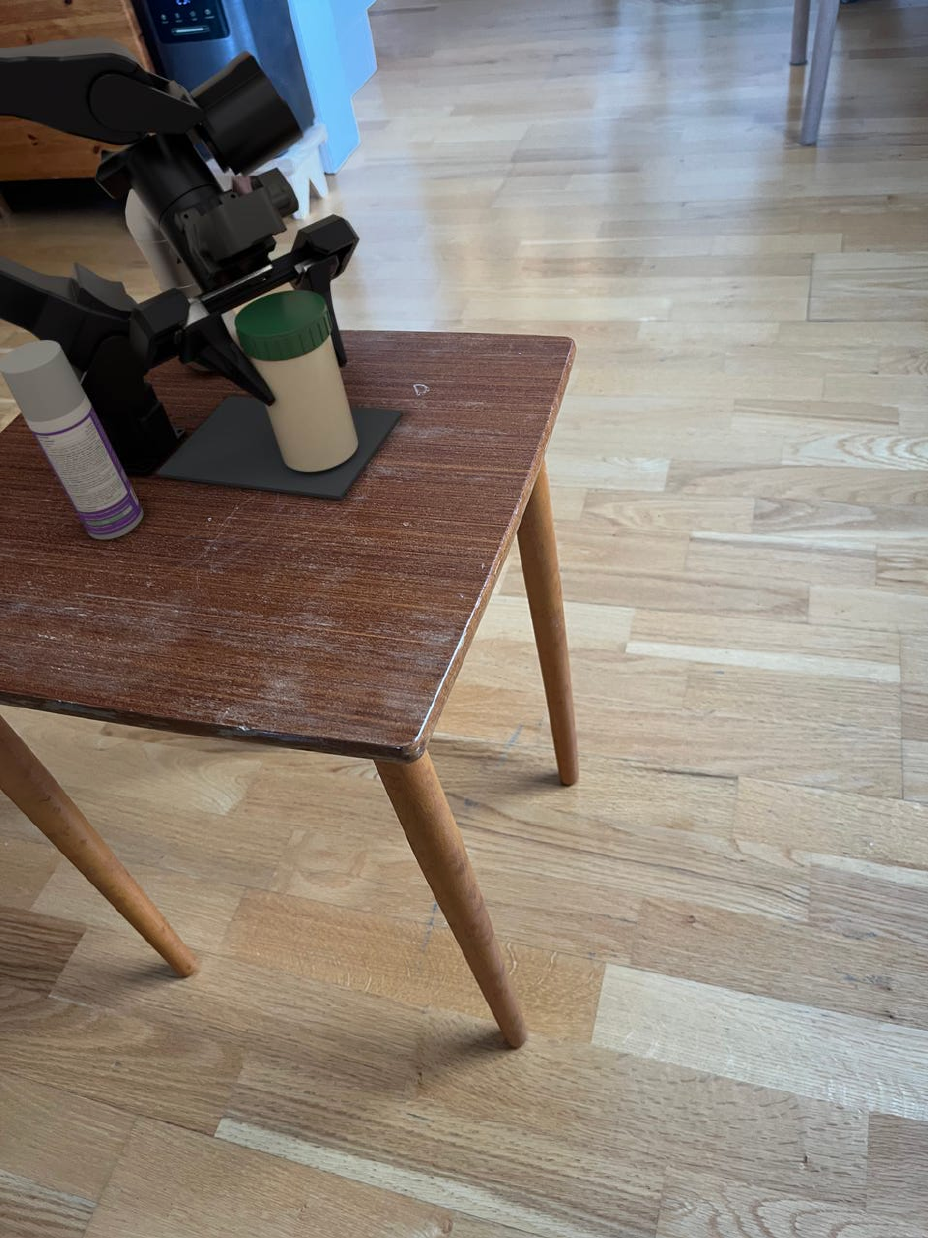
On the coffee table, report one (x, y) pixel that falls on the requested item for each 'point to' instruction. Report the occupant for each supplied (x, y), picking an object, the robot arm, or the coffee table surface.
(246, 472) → the mat
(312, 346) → the jar lid
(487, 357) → the coffee table surface
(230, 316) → the silver metal bottle
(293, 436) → the jar
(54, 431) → the container
